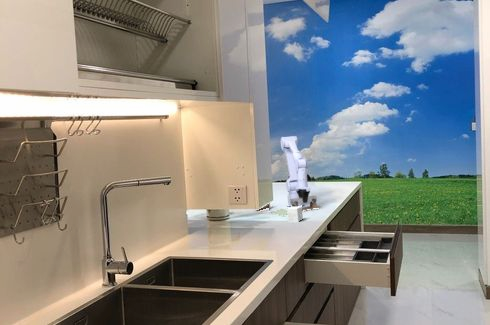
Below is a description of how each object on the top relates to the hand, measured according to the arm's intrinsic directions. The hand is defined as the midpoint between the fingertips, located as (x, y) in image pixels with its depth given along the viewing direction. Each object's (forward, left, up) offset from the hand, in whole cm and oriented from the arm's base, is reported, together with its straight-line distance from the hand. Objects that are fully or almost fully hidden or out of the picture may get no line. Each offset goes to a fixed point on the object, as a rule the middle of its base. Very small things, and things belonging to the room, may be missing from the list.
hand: (303, 202), depth 298 cm
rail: (0, 0, 0) cm, 0 cm away
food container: (-21, -19, -5) cm, 29 cm away
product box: (+27, -20, -5) cm, 34 cm away
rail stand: (0, 0, -5) cm, 5 cm away
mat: (-1, -14, -5) cm, 15 cm away
